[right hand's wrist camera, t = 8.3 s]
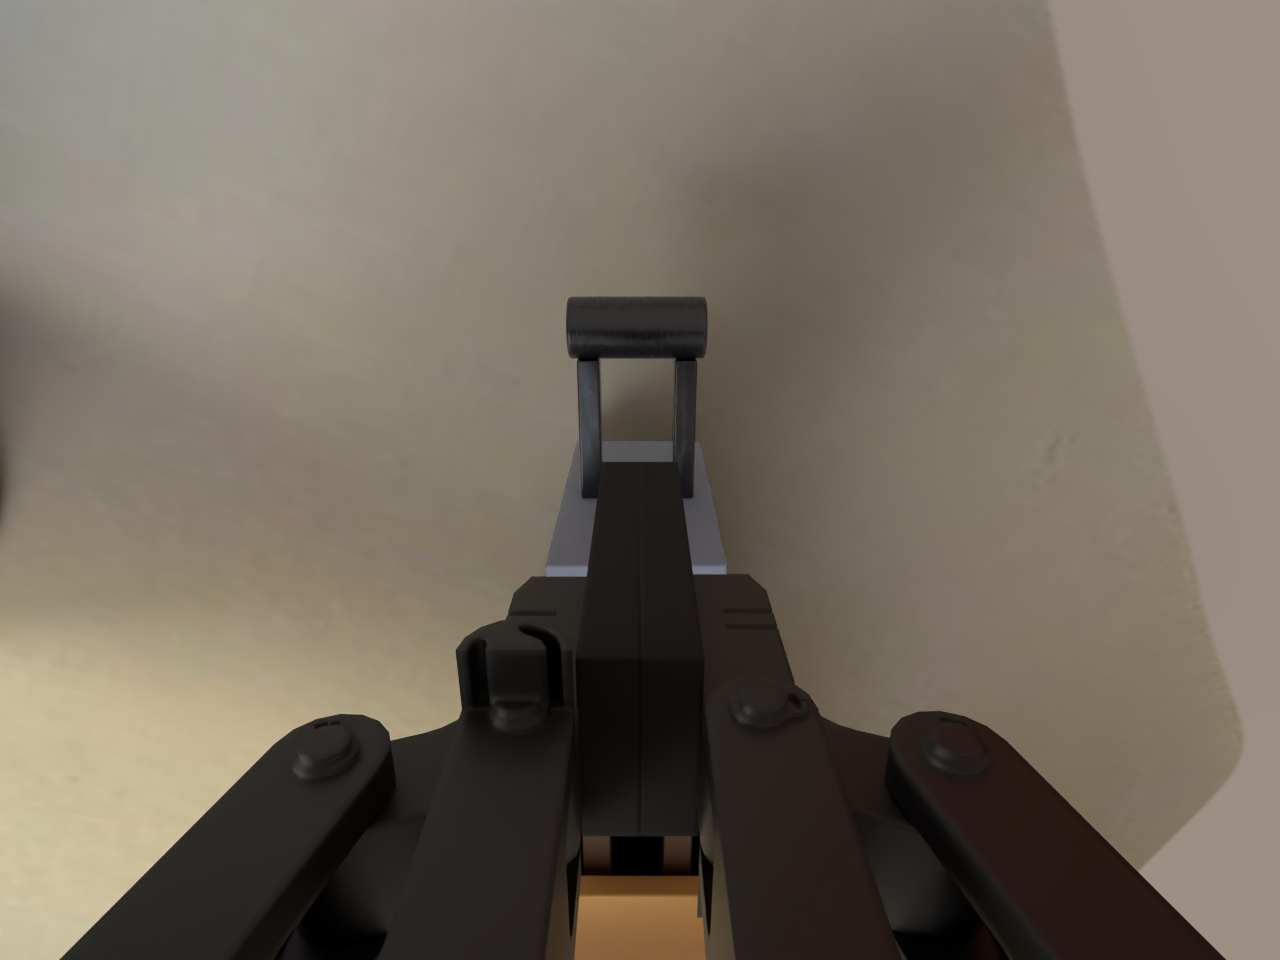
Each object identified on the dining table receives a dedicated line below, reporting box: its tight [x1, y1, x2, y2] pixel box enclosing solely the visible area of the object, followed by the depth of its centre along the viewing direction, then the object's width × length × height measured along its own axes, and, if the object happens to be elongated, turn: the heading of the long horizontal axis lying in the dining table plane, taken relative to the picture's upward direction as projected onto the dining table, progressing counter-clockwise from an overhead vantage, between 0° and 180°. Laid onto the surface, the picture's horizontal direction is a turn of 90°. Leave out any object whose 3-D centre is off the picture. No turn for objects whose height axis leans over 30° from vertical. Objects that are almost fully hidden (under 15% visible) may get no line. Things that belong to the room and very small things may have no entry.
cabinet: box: [574, 823, 706, 960], centre depth 29 cm, size 19×6×11 cm, turn 0°
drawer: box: [545, 297, 727, 876], centre depth 24 cm, size 24×4×9 cm, turn 0°
